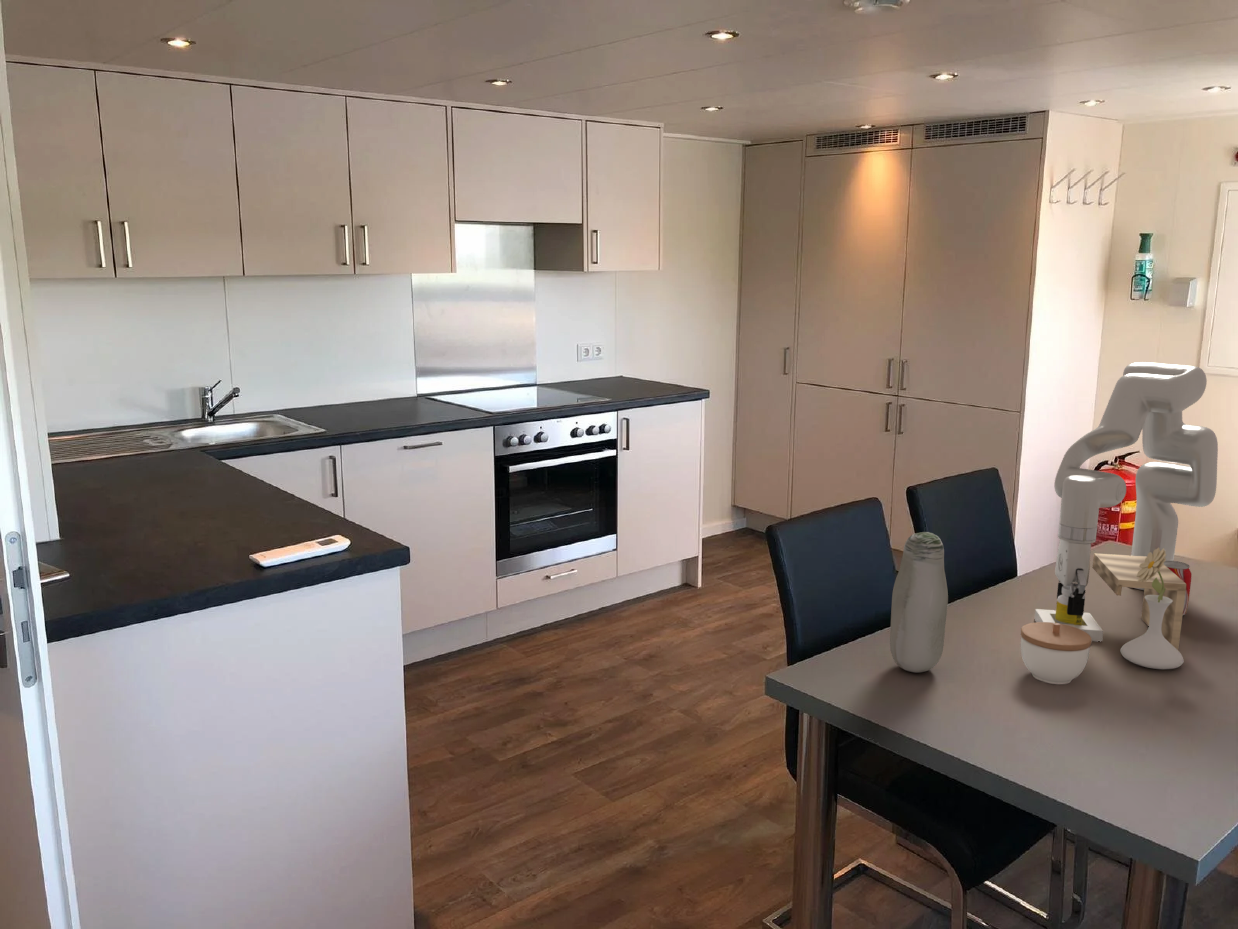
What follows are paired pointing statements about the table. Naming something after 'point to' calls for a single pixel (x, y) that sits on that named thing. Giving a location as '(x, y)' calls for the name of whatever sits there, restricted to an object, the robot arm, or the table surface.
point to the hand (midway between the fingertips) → (1069, 607)
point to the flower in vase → (1153, 623)
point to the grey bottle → (919, 604)
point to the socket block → (1087, 625)
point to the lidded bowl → (1054, 651)
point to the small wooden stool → (1123, 574)
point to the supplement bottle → (1065, 609)
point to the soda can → (1181, 577)
